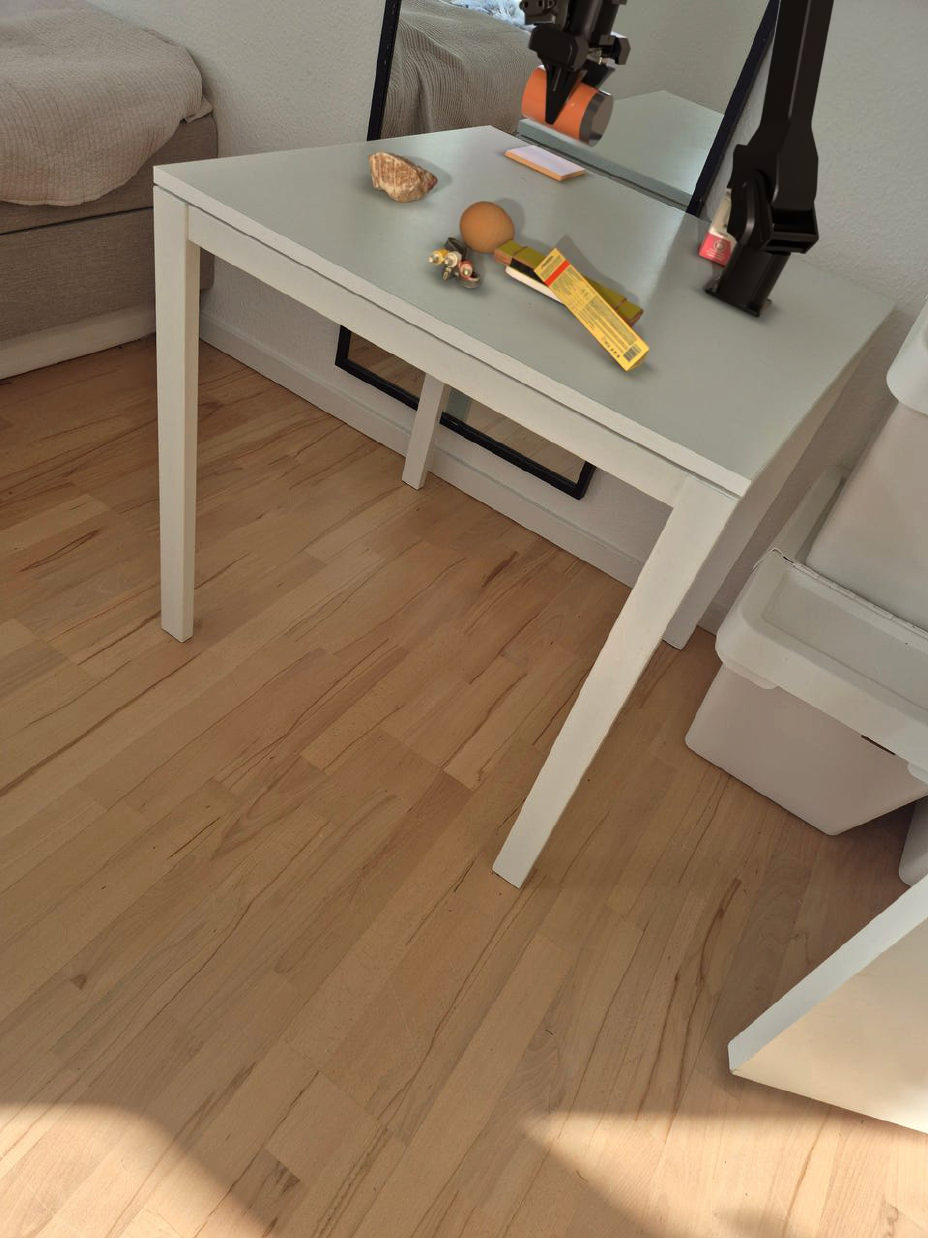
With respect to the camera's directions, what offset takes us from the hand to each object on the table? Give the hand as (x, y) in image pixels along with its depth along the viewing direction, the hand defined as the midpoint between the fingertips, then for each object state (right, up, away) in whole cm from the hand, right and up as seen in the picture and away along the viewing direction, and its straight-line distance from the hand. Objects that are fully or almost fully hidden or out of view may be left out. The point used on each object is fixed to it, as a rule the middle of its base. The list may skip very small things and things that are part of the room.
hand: (558, 121), depth 107 cm
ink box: (+20, -21, -6) cm, 30 cm away
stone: (-20, -22, -23) cm, 37 cm away
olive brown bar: (-2, -33, -31) cm, 45 cm away
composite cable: (-13, -32, -31) cm, 47 cm away
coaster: (-1, -4, +3) cm, 5 cm away
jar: (0, -1, +1) cm, 1 cm away
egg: (-12, -27, -30) cm, 42 cm away
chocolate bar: (-2, -38, -37) cm, 53 cm away
